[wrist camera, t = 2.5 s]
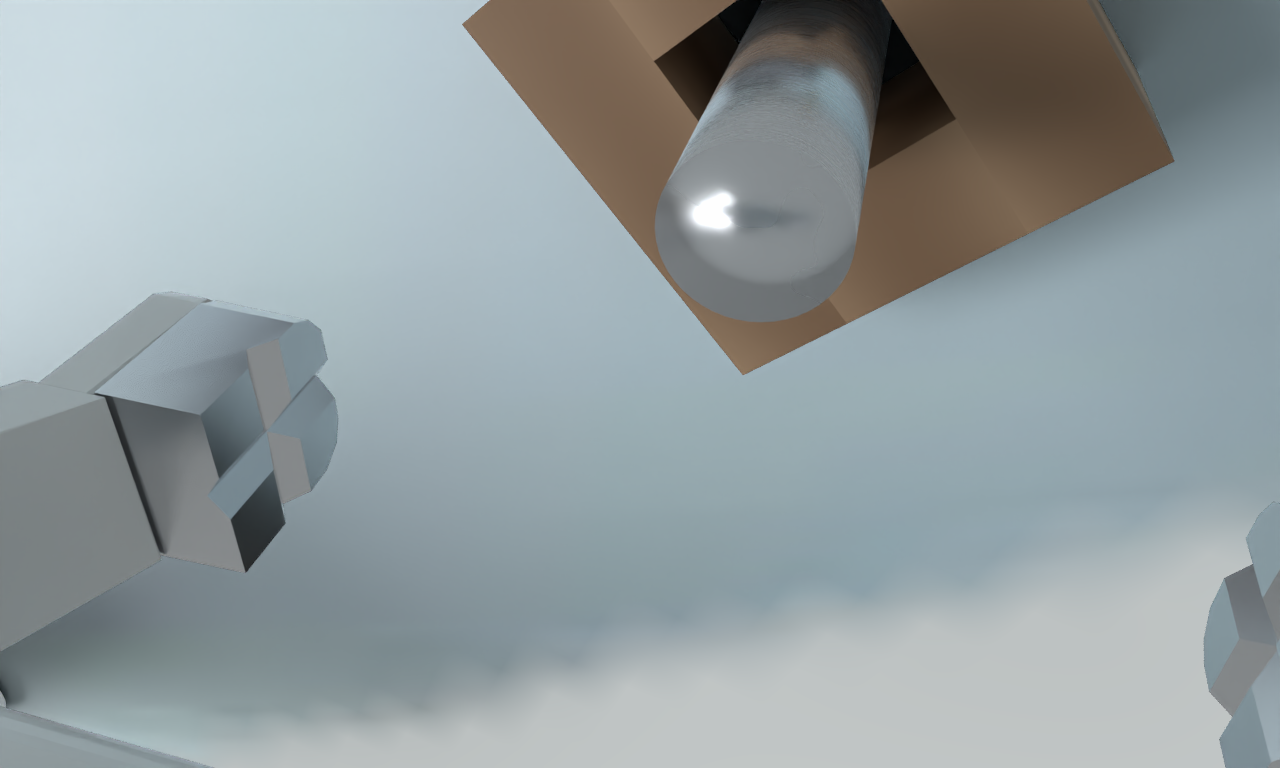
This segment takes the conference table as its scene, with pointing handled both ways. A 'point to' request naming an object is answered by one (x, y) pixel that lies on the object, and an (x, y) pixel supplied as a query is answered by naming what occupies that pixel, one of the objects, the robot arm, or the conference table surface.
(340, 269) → the conference table surface
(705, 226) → the pin
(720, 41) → the block
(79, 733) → the robot arm
